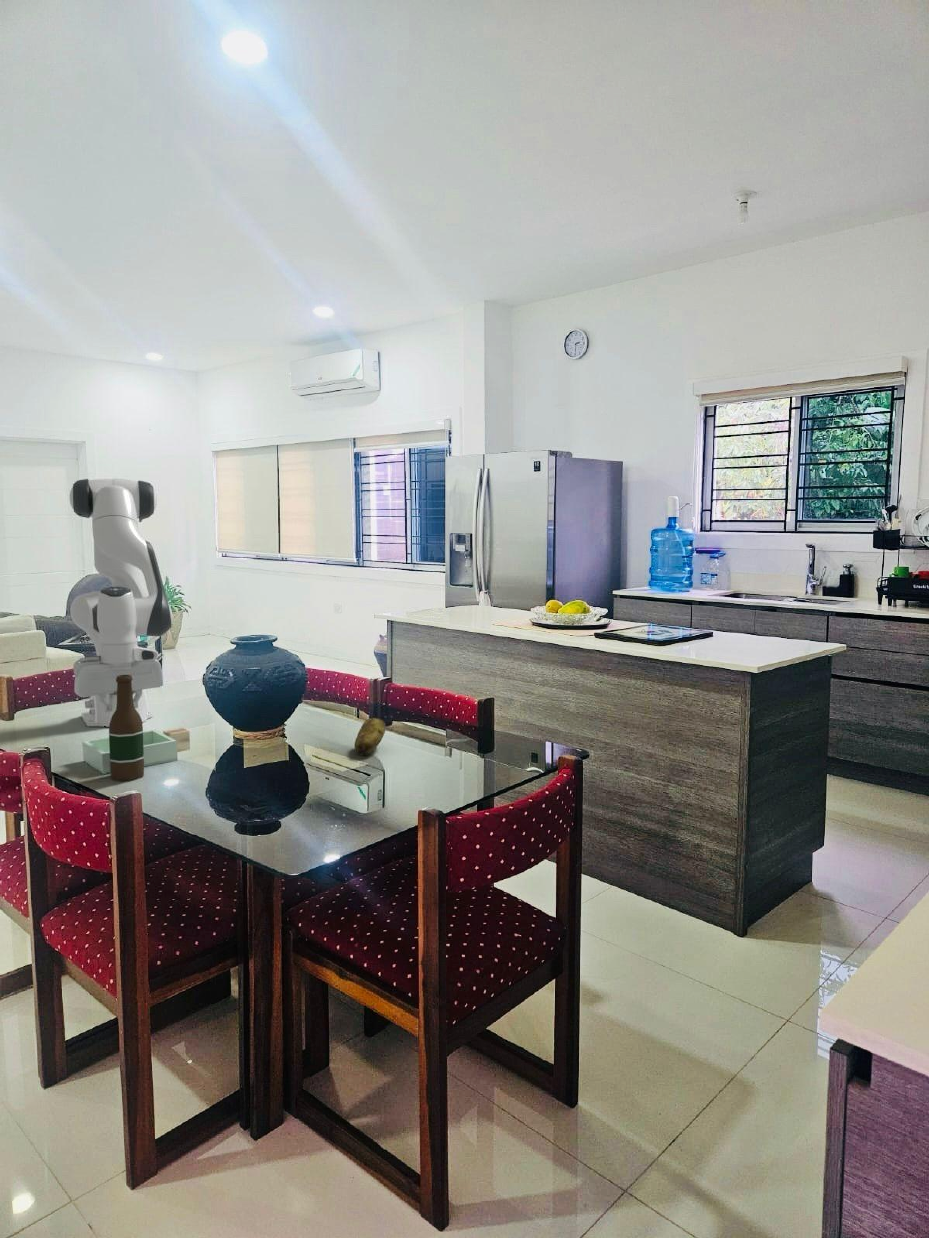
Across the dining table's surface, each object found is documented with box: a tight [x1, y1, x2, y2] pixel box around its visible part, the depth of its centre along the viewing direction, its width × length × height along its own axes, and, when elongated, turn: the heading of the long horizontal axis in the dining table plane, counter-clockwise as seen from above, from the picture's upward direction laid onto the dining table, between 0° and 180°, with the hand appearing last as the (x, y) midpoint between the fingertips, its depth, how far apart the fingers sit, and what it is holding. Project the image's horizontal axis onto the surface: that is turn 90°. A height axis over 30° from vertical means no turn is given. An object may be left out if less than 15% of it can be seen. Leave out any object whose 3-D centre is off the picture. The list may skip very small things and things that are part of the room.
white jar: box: [109, 691, 117, 721], centre depth 199 cm, size 5×5×8 cm
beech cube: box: [162, 727, 191, 753], centre depth 213 cm, size 5×5×5 cm
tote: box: [82, 729, 178, 775], centre depth 202 cm, size 14×18×5 cm
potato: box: [354, 717, 387, 756], centre depth 214 cm, size 8×13×8 cm, turn 151°
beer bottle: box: [108, 675, 145, 782], centre depth 189 cm, size 8×8×24 cm
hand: (120, 709), depth 200 cm, fingers closed on white jar, 5 cm apart
